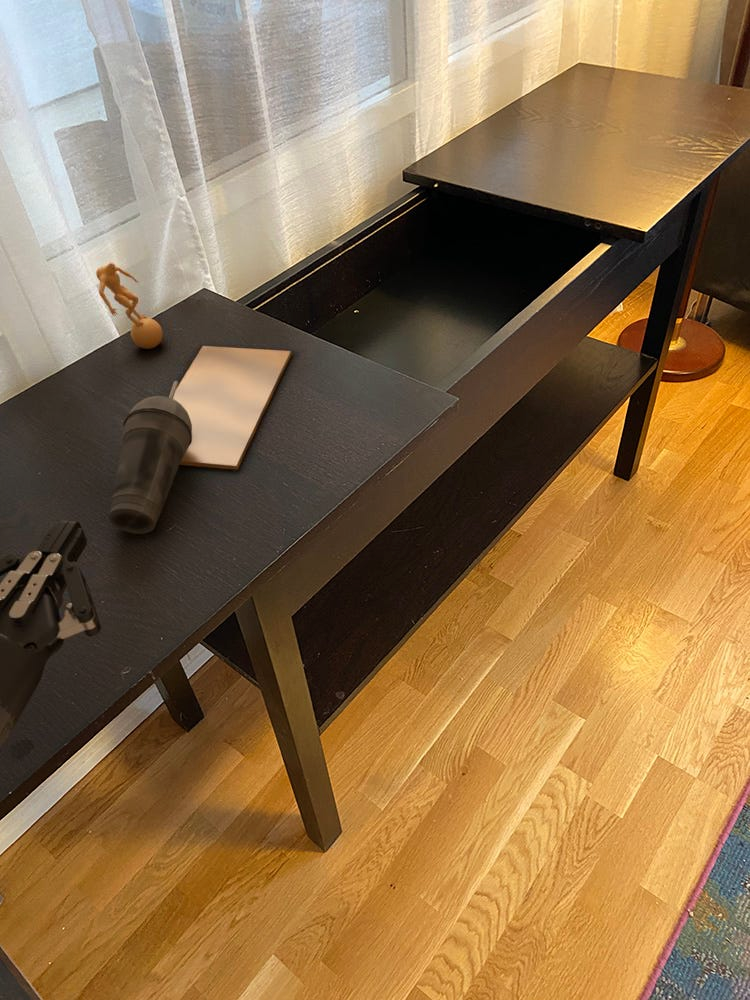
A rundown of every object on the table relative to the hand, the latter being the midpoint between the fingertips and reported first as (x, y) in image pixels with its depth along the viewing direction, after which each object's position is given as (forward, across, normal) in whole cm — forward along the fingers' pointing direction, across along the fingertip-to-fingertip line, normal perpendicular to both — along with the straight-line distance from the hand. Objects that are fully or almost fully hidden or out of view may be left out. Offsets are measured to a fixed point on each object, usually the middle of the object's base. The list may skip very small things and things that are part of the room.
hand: (73, 528), depth 66 cm
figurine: (+41, +14, +11) cm, 45 cm away
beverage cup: (+8, +1, +8) cm, 12 cm away
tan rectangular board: (+30, 0, +10) cm, 32 cm away
